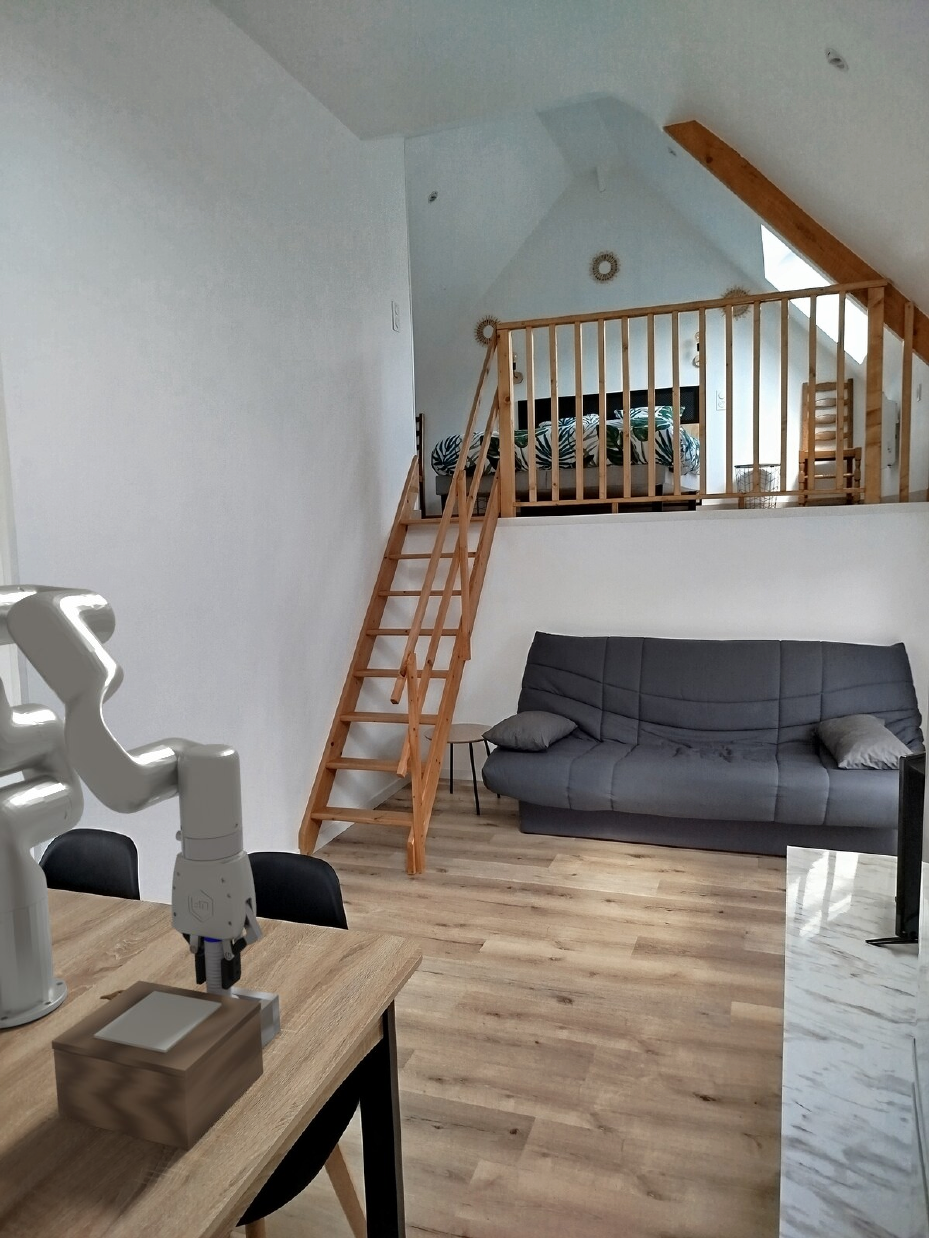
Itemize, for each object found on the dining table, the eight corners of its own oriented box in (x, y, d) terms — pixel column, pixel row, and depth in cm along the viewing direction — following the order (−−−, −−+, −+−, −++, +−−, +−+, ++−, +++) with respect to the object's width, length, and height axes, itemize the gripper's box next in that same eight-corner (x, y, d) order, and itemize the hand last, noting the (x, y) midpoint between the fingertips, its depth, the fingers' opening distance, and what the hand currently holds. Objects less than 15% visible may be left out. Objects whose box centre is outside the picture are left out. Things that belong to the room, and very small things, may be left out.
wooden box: (57, 1116, 96) (51, 1040, 95) (186, 1012, 117) (182, 950, 116) (190, 1150, 90) (185, 1070, 89) (301, 1034, 111) (297, 968, 110)
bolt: (245, 1015, 111) (234, 1037, 106) (207, 1015, 111) (195, 1038, 106) (240, 901, 110) (229, 918, 105) (202, 901, 110) (189, 918, 105)
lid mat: (93, 1037, 96) (93, 1034, 96) (154, 993, 105) (154, 990, 105) (165, 1052, 92) (165, 1050, 92) (221, 1005, 102) (221, 1003, 102)
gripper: (139, 846, 106) (146, 985, 108) (250, 861, 100) (256, 1008, 102) (178, 827, 113) (185, 958, 115) (284, 840, 107) (289, 978, 109)
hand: (218, 980), depth 108 cm, fingers closed on bolt, 3 cm apart
